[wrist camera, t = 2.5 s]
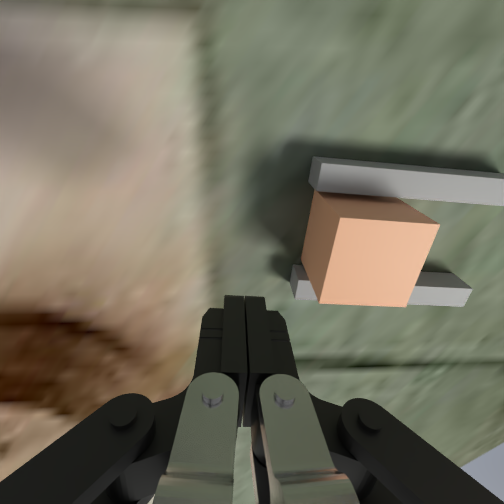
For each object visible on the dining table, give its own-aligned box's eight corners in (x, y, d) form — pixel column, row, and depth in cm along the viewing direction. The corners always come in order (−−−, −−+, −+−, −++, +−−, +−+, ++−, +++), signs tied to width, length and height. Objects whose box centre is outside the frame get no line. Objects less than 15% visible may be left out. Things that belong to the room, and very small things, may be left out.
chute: (312, 156, 17) (321, 163, 15) (501, 173, 18) (530, 181, 16) (289, 282, 21) (294, 299, 19) (445, 290, 22) (463, 306, 21)
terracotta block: (314, 188, 18) (340, 217, 14) (391, 194, 19) (440, 224, 14) (300, 258, 20) (319, 303, 16) (369, 262, 21) (405, 307, 17)
